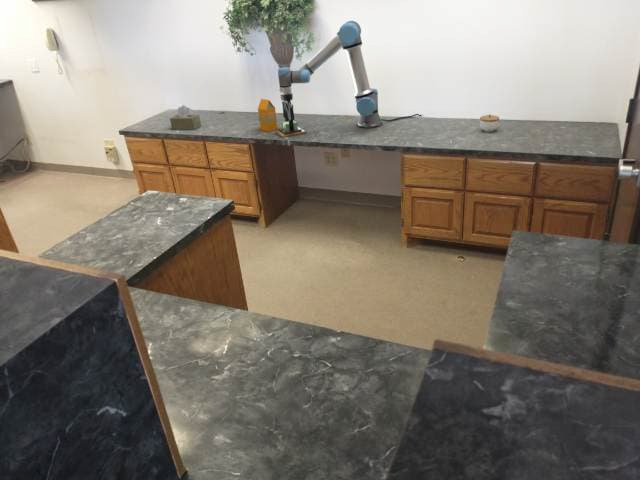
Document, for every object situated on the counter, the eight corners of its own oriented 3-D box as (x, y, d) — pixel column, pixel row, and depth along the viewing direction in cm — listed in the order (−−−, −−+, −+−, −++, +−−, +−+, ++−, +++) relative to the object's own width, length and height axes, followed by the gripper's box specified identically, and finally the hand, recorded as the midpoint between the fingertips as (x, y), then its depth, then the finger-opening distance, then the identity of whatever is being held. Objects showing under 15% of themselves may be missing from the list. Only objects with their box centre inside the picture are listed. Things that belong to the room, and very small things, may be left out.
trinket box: (488, 134, 295) (489, 118, 291) (475, 130, 304) (476, 114, 299) (502, 130, 299) (503, 114, 295) (488, 126, 308) (490, 111, 304)
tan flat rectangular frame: (298, 128, 338) (298, 124, 337) (305, 132, 328) (305, 128, 327) (275, 133, 333) (275, 129, 332) (282, 137, 323) (281, 133, 322)
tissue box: (201, 125, 364) (197, 103, 357) (194, 129, 356) (190, 107, 349) (178, 125, 370) (174, 103, 363) (171, 129, 362) (166, 107, 354)
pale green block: (294, 127, 333) (293, 120, 331) (297, 130, 328) (296, 122, 326) (282, 130, 331) (282, 122, 328) (286, 132, 326) (285, 124, 323)
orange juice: (269, 127, 347) (265, 97, 337) (277, 129, 341) (274, 98, 332) (260, 130, 342) (256, 100, 333) (268, 132, 336) (264, 101, 327)
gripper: (275, 91, 325) (279, 127, 336) (286, 97, 310) (290, 134, 320) (286, 90, 328) (290, 125, 338) (297, 95, 312) (301, 131, 323)
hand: (290, 129), depth 329 cm, fingers closed on pale green block, 6 cm apart
